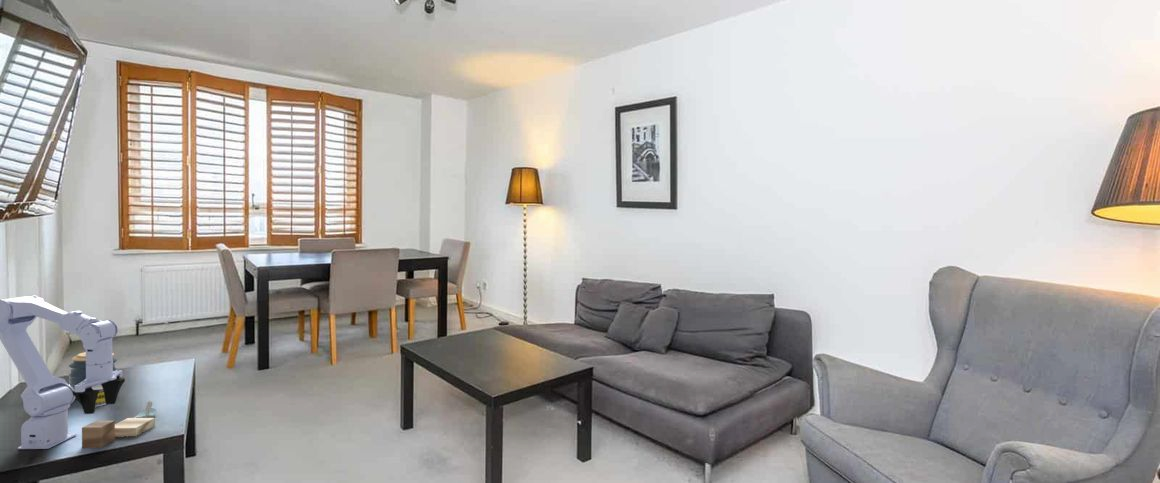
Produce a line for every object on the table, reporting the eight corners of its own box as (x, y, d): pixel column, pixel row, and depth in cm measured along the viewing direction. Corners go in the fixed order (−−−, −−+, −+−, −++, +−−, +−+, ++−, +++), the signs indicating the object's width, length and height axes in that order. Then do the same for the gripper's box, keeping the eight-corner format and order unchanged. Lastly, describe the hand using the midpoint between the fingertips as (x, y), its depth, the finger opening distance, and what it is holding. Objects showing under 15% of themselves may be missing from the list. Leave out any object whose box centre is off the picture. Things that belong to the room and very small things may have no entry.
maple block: (135, 437, 155) (135, 428, 155) (107, 437, 154) (107, 428, 154) (154, 427, 163) (154, 417, 163) (127, 427, 162) (127, 418, 162)
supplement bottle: (95, 407, 176) (95, 383, 176) (85, 406, 177) (85, 382, 177) (111, 403, 181) (111, 379, 180) (100, 401, 182) (100, 378, 181)
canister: (90, 401, 181) (90, 352, 181) (58, 398, 183) (58, 350, 182) (126, 389, 194) (126, 343, 194) (96, 387, 196) (96, 341, 195)
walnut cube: (101, 447, 147) (100, 427, 147) (82, 448, 147) (81, 427, 147) (114, 440, 152) (114, 420, 152) (96, 440, 152) (96, 420, 152)
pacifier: (129, 425, 164) (153, 421, 167) (128, 406, 163) (152, 402, 166) (134, 417, 170) (157, 413, 173) (133, 399, 169) (156, 395, 173)
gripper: (93, 369, 142) (94, 417, 143) (133, 355, 156) (133, 399, 157) (65, 370, 141) (66, 418, 142) (107, 356, 156) (108, 400, 156)
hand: (100, 408), depth 149 cm, fingers open, 7 cm apart
